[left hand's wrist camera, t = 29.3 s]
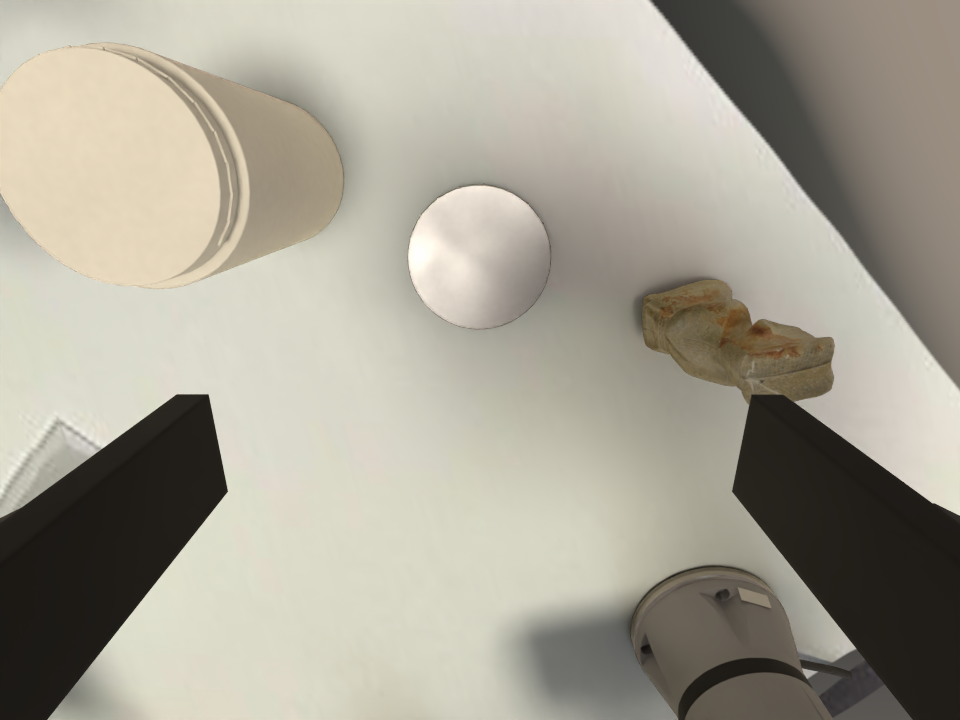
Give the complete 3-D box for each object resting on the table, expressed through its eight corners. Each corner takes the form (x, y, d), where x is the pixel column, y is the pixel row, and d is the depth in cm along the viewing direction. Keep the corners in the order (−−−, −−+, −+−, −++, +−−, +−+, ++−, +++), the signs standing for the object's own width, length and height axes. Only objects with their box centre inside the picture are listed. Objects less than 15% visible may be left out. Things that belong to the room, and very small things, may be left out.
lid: (440, 341, 42) (438, 348, 41) (388, 213, 39) (383, 215, 37) (564, 297, 41) (569, 303, 39) (522, 161, 38) (524, 161, 36)
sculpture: (721, 337, 42) (842, 420, 28) (633, 348, 42) (709, 435, 28) (723, 267, 40) (855, 318, 26) (631, 279, 40) (712, 336, 26)
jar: (315, 81, 36) (164, -4, 19) (362, 225, 39) (270, 265, 22) (183, 120, 37) (-79, 73, 19) (239, 257, 40) (59, 321, 23)
